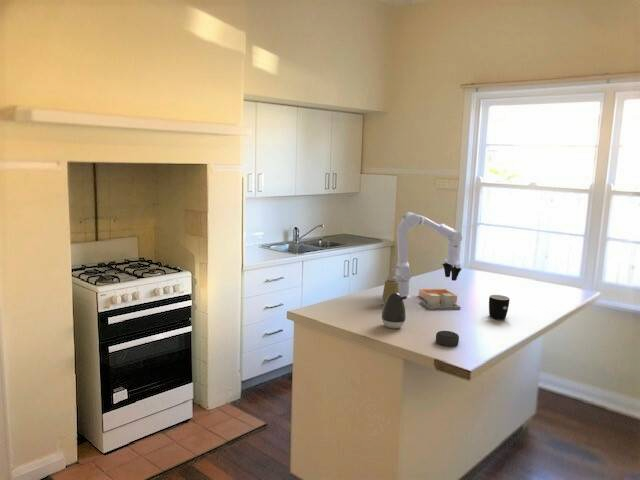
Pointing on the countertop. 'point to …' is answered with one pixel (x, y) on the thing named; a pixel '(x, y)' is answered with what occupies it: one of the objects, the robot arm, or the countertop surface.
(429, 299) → the block
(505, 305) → the mug
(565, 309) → the countertop surface
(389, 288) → the squeeze bottle
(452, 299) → the stone right
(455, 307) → the stone tray
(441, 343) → the smart speaker
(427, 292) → the bin
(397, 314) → the pump dispenser
